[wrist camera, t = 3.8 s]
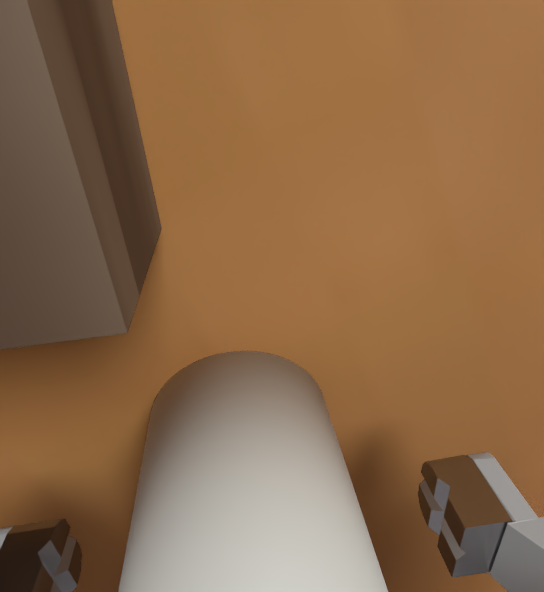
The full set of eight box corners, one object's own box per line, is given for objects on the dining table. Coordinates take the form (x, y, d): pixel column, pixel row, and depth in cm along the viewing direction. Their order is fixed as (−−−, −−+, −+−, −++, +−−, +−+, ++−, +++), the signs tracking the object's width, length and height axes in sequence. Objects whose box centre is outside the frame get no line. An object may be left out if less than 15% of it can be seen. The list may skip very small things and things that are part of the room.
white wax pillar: (324, 339, 11) (542, 881, 4) (326, 465, 13) (459, 939, 6) (130, 365, 10) (-54, 1024, 3) (169, 490, 13) (114, 1023, 6)
